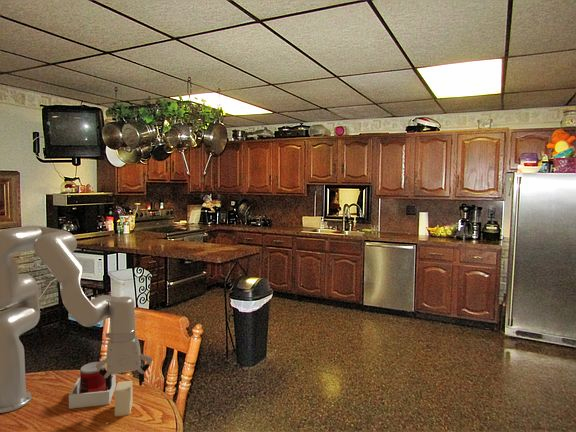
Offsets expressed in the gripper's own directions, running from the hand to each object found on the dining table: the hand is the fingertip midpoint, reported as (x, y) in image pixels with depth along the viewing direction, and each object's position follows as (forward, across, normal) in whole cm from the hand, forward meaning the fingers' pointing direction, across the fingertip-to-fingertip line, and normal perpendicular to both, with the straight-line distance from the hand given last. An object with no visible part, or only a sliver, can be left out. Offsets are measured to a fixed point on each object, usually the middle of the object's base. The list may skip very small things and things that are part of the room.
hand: (125, 385), depth 133 cm
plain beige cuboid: (+8, -1, 0) cm, 8 cm away
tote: (+8, -12, +11) cm, 18 cm away
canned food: (+8, -12, +11) cm, 18 cm away
